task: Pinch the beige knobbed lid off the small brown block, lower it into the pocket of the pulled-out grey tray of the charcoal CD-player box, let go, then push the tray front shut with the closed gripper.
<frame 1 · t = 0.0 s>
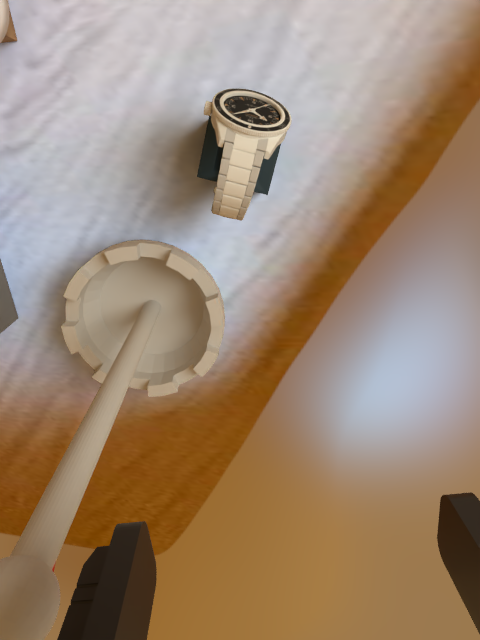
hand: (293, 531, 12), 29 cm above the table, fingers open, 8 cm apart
flag stand: (154, 303, 41), on the table
watch: (238, 153, 36), on the table
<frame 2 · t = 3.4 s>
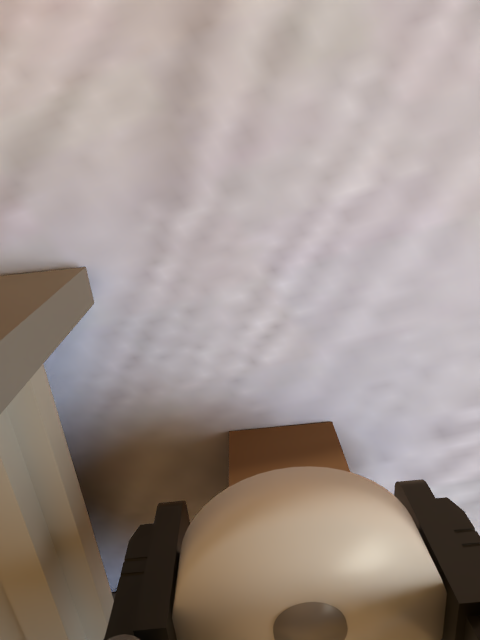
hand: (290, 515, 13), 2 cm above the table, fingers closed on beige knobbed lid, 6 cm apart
beige knobbed lid: (299, 562, 11), point 3 cm above the table, touching gripper, brown block
brown block: (283, 467, 14), on the table
when the fingers open (3 cm above the table, at t = 7.7 s): beige knobbed lid drops 2 cm, resting on tray.
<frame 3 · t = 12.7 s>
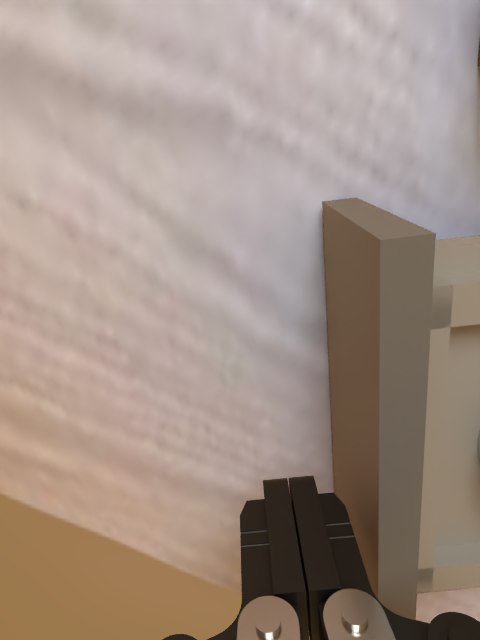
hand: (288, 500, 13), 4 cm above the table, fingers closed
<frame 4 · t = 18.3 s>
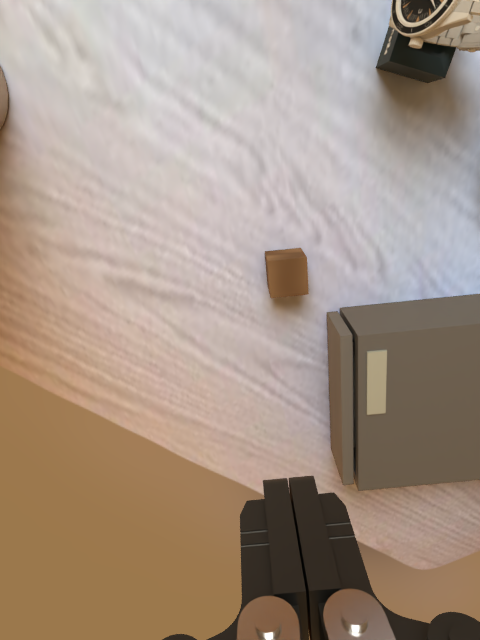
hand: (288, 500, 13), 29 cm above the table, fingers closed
watch: (412, 36, 34), on the table
housing: (430, 373, 45), on the table
tray: (430, 390, 42), point 3 cm above the table, slide at 0.0 cm, touching beige knobbed lid
brown block: (283, 267, 40), on the table
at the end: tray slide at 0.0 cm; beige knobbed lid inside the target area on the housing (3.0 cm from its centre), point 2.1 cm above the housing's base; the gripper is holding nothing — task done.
